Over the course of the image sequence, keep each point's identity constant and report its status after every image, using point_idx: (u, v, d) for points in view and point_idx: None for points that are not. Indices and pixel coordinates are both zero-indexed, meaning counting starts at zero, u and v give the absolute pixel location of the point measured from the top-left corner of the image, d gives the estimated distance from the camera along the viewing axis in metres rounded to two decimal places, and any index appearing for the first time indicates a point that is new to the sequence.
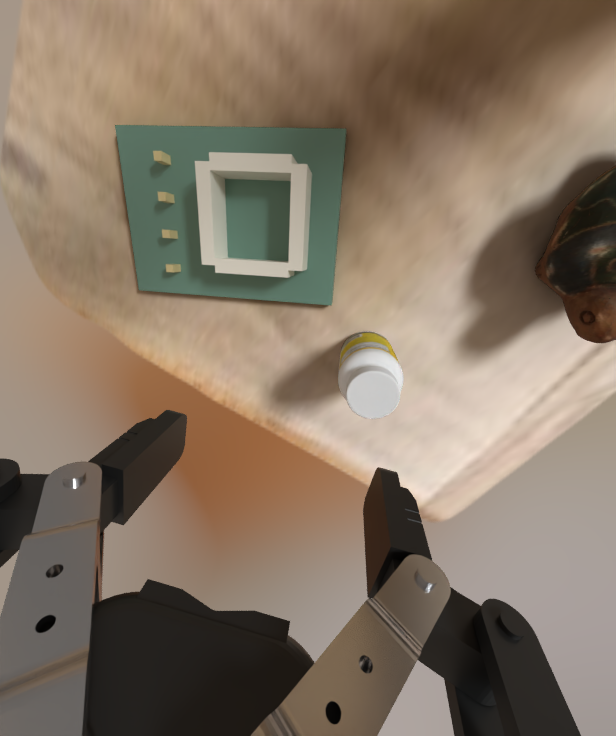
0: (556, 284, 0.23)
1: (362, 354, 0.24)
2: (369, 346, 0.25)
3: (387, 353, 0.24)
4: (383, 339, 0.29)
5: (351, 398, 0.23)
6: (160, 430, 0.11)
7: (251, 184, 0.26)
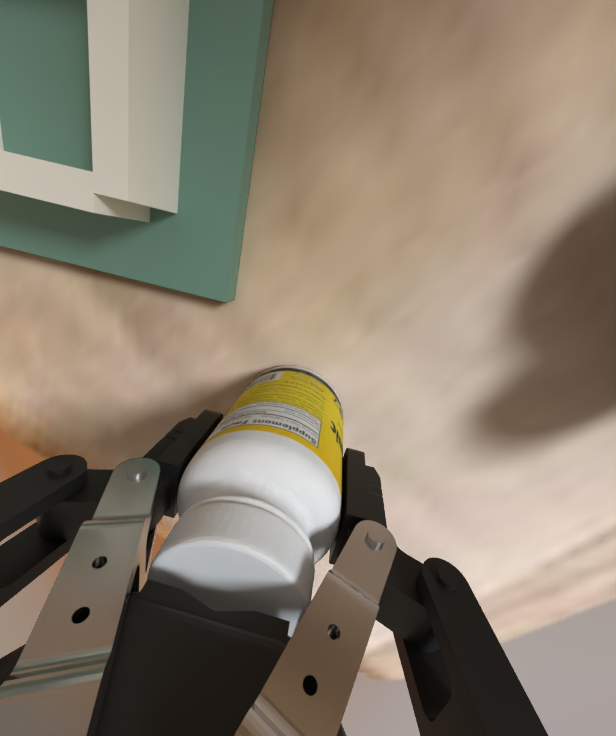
0: None
1: (234, 451, 0.09)
2: (268, 422, 0.10)
3: (307, 453, 0.09)
4: (323, 393, 0.13)
5: None
6: (203, 429, 0.11)
7: None
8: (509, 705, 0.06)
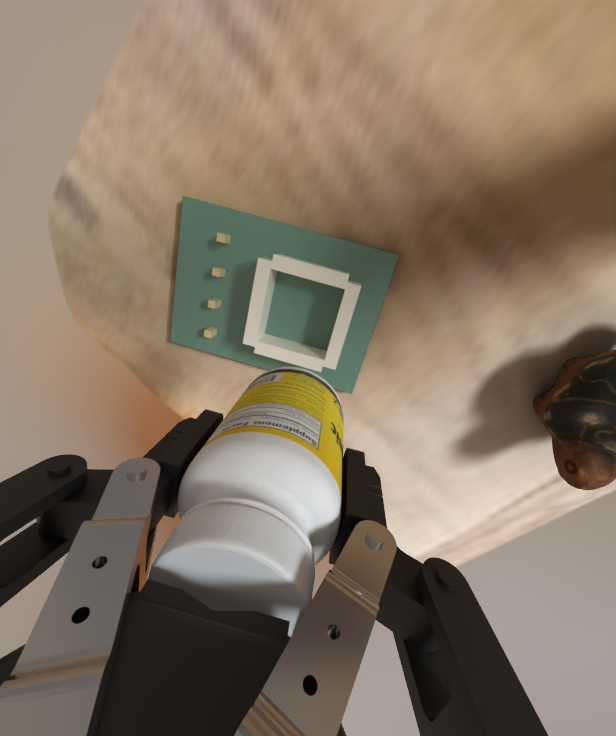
0: (550, 428, 0.27)
1: (235, 453, 0.09)
2: (268, 423, 0.10)
3: (307, 455, 0.09)
4: (323, 394, 0.13)
5: None
6: (203, 429, 0.11)
7: (302, 278, 0.28)
8: (508, 704, 0.06)
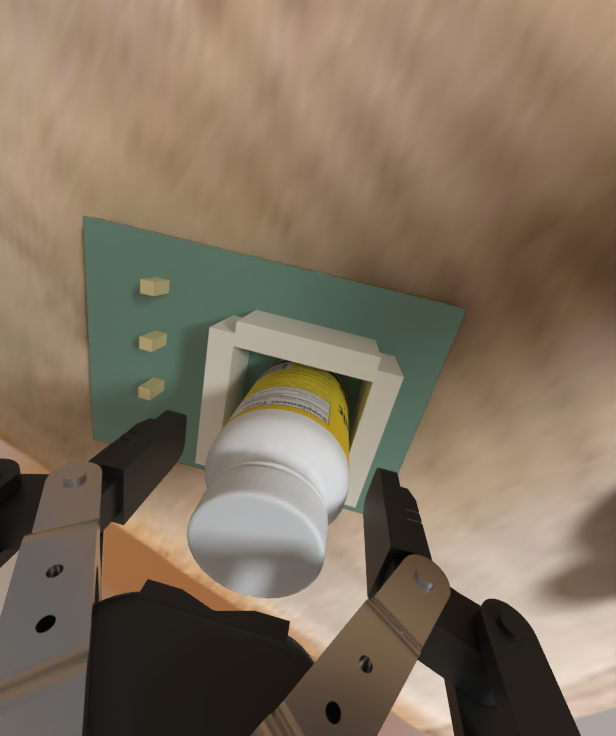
0: None
1: (257, 425, 0.10)
2: (284, 402, 0.11)
3: (319, 428, 0.10)
4: (330, 381, 0.15)
5: (199, 545, 0.09)
6: (160, 430, 0.11)
7: None
8: None
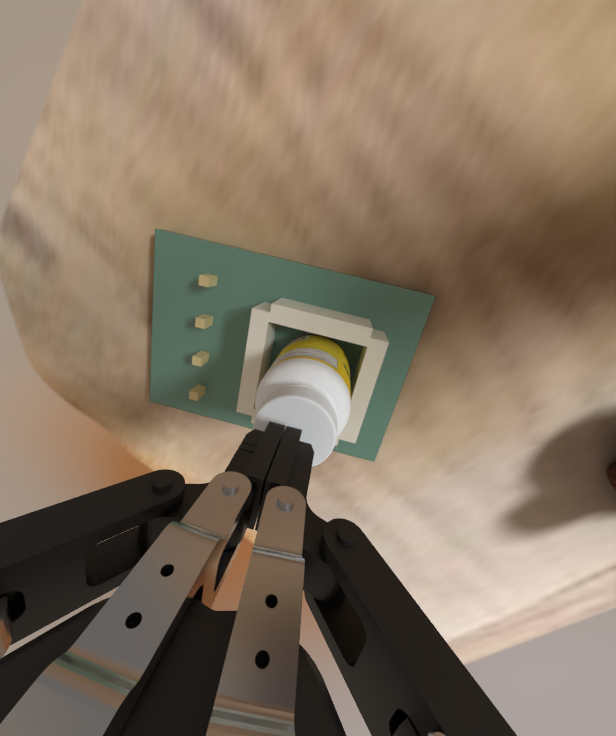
0: None
1: (292, 366, 0.16)
2: (308, 355, 0.17)
3: (331, 370, 0.16)
4: (337, 348, 0.20)
5: None
6: (274, 441, 0.12)
7: None
8: (409, 623, 0.07)
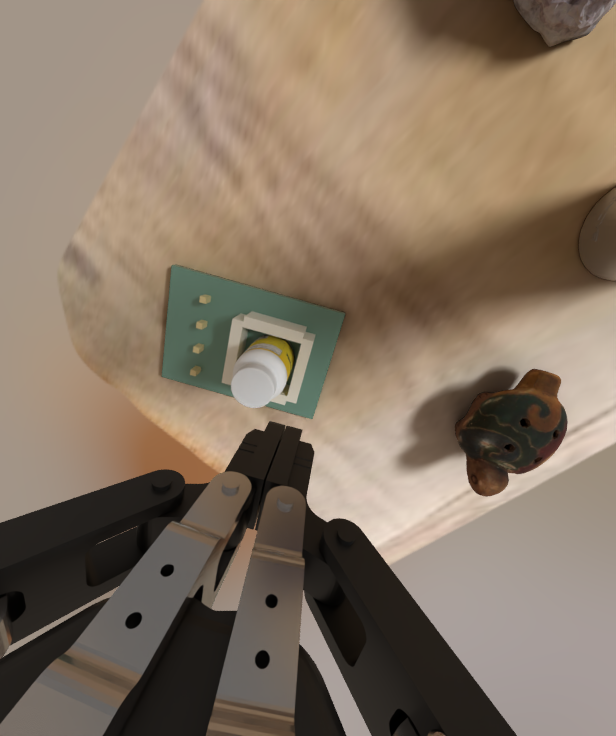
0: (462, 448, 0.35)
1: (253, 353, 0.28)
2: (263, 347, 0.30)
3: (275, 356, 0.29)
4: (284, 344, 0.33)
5: (234, 387, 0.27)
6: (274, 441, 0.12)
7: None
8: (409, 623, 0.07)
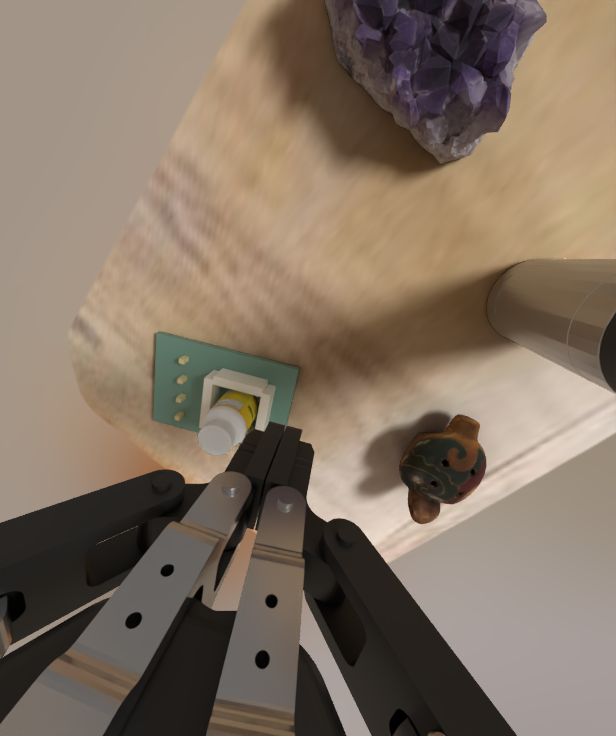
0: (403, 481, 0.40)
1: (217, 410, 0.35)
2: (226, 404, 0.37)
3: (235, 411, 0.36)
4: (248, 396, 0.40)
5: (200, 440, 0.34)
6: (274, 441, 0.12)
7: None
8: (409, 623, 0.07)
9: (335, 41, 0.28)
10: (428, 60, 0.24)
